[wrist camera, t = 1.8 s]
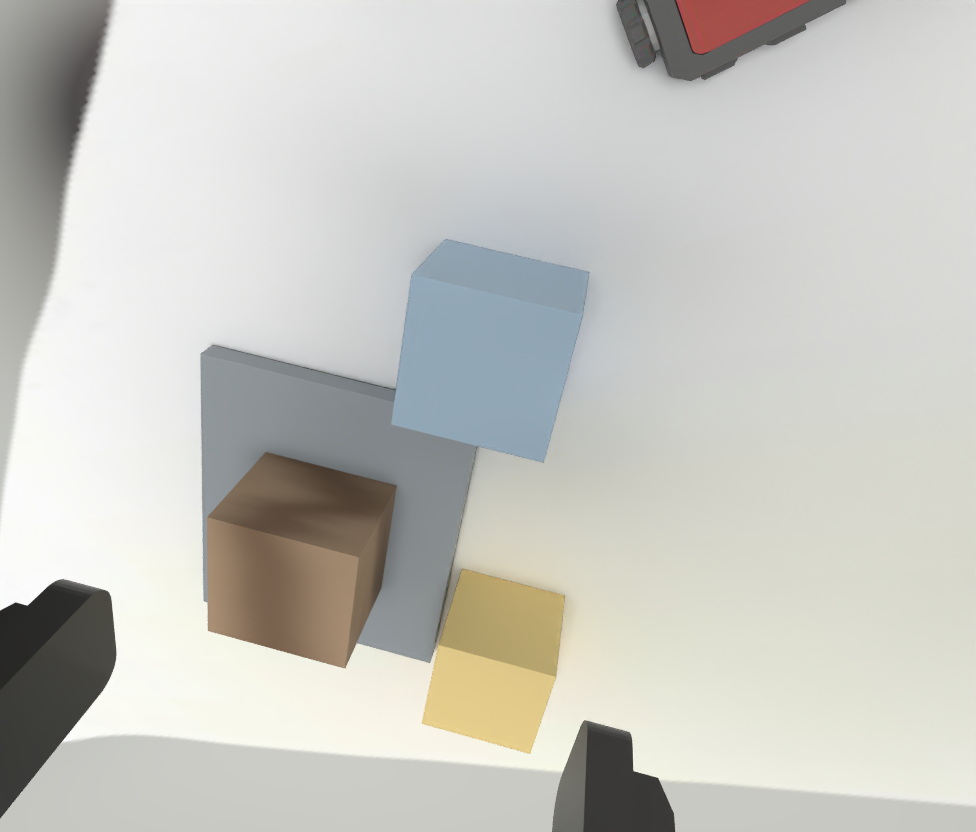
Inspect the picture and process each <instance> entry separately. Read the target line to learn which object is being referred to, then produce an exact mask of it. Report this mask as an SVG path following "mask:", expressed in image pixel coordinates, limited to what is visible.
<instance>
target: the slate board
mask: <svg viewBox="0 0 976 832" xmlns="http://www.w3.org/2000/svg"><path fill="white" fill-rule="evenodd" d="M395 393H396V390H392V389H388V388H383V387H379V386H375V385H371V384H367V383H363V382H359V381H355V380H351V379H347V378H343V377H339V376H335V375H331V374H327V373H323V372H319V371H315V370H311V369H307V368H303V367H299V366H295V365H291V364H287V363H283V362H279V361H275V360H271V359H267V358H263V357H259V356H255V355H251V354H247V353H243V352H238V351H234V350H230V349H226V348H222V347H218V346H214V345H212V346H211V347H210V348H208V349H207V350H205V351H204V352H202V353H201V428H202V509H203V589H204V602H208V577H207V517H208V516H209V514H210V513H211V512H212V511H213V510H214V509H215V508H216V507H217V506H218V504H219V503H220V502H221V501H222V500H223V499H224V498H225V497H226V496H227V494H228V493H229V492H230V491H231V490H232V489H233V488H234V487H235V486H236V484H237V483H238V482H239V481H240V480H241V479H242V478H243V477H244V476H245V474H246V473H247V472H248V471H249V470H250V469H251V468H252V467H253V466H254V464H255V463H256V462H257V461H258V460H259V459H260V458H261V457H262V456H263V454H264V453H265V452H268V453H272V454H276V455H280V456H284V457H288V458H292V459H296V460H300V461H303V462H307V463H311V464H315V465H319V466H323V467H327V468H331V469H335V470H338V471H342V472H346V473H350V474H354V475H358V476H362V477H366V478H370V479H373V480H377V481H381V482H385V483H389V484H393V485H397V488H396V494H395V501H394V508H393V514H392V521H391V528H390V534H389V541H388V548H387V554H386V561H385V568H384V574H383V581H382V588H381V590H380V592H379V595H378V597H377V599H376V601H375V603H374V606H373V608H372V610H371V612H370V615H369V617H368V619H367V621H366V623H365V626H364V628H363V630H362V632H361V634H360V637H359V639H358V641H357V643H359V644H362V645H366V646H370V647H373V648H377V649H381V650H384V651H388V652H392V653H395V654H399V655H403V656H406V657H410V658H414V659H417V660H421V661H425V662H428V663H430V662H431V659H432V655H433V652H434V649H435V645H436V640H437V635H438V631H439V626H440V621H441V616H442V611H443V607H444V602H445V597H446V592H447V588H448V583H449V578H450V573H451V569H452V564H453V559H454V554H455V549H456V545H457V540H458V535H459V530H460V526H461V521H462V516H463V511H464V506H465V502H466V497H467V492H468V487H469V483H470V478H471V473H472V468H473V464H474V459H475V454H476V449H477V446H475V445H471V444H467V443H463V442H459V441H455V440H451V439H447V438H443V437H439V436H435V435H431V434H427V433H423V432H419V431H415V430H411V429H407V428H403V427H399V426H395V425H391V422H392V415H393V407H394V400H395Z"/></svg>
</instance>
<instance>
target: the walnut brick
mask: <svg viewBox="0 0 976 832" xmlns="http://www.w3.org/2000/svg"><path fill="white" fill-rule="evenodd" d="M396 488H397V485H393V484H389V483H385V482H381V481H377V480H373V479H370V478H366V477H362V476H358V475H354V474H350V473H346V472H342V471H338V470H335V469H331V468H327V467H323V466H319V465H315V464H311V463H307V462H303V461H300V460H296V459H292V458H288V457H284V456H280V455H276V454H272V453H268V452H265V453H264V454H263V456H262V457H261V458H260V459H259V460H258V461H257V462H256V463H255V464H254V466H253V467H252V468H251V469H250V470H249V471H248V472H247V473H246V474H245V476H244V477H243V478H242V479H241V480H240V481H239V482H238V483H237V484H236V486H235V487H234V488H233V489H232V490H231V491H230V492H229V493H228V494H227V496H226V497H225V498H224V499H223V500H222V501H221V502H220V503H219V504H218V506H217V507H216V508H215V509H214V510H213V511H212V512H211V513H210V514H209V516H208V517H207V577H208V631H211V632H214V633H218V634H221V635H225V636H229V637H232V638H236V639H240V640H243V641H247V642H251V643H254V644H258V645H261V646H265V647H269V648H272V649H276V650H280V651H283V652H287V653H291V654H294V655H298V656H301V657H305V658H309V659H312V660H316V661H320V662H323V663H327V664H331V665H334V666H338V667H341V668H346V665H347V663H348V661H349V659H350V656H351V654H352V652H353V650H354V648H355V645H356V643H357V641H358V639H359V637H360V634H361V632H362V630H363V628H364V626H365V623H366V621H367V619H368V617H369V615H370V612H371V610H372V608H373V606H374V603H375V601H376V599H377V597H378V595H379V592H380V590H381V588H382V581H383V574H384V568H385V561H386V554H387V548H388V541H389V534H390V528H391V521H392V514H393V508H394V501H395V494H396Z"/></svg>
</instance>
